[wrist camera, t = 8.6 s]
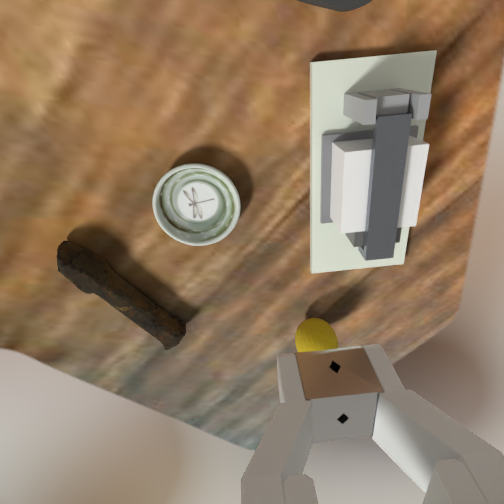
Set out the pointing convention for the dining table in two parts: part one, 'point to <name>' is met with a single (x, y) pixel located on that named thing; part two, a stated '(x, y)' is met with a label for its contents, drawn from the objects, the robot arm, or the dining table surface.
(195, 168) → the saucer
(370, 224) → the strap
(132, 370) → the dining table surface
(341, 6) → the media streaming box
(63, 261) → the dark brown long bar
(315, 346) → the lemon
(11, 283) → the dining table surface
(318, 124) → the board
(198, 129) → the dining table surface
